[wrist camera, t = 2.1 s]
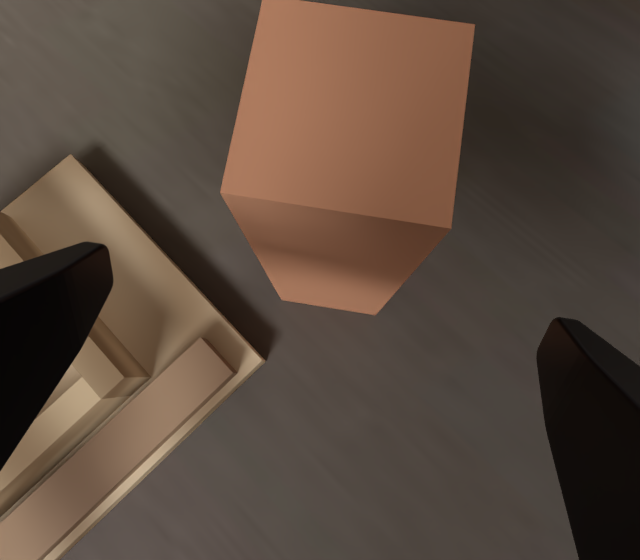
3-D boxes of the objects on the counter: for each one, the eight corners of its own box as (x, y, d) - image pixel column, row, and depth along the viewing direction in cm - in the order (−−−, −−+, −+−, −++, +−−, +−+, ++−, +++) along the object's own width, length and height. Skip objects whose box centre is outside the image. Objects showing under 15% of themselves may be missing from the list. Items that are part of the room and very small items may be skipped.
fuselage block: (376, 315, 20) (454, 229, 8) (280, 299, 20) (217, 192, 8) (389, 225, 20) (477, 25, 9) (296, 210, 21) (260, -6, 9)
